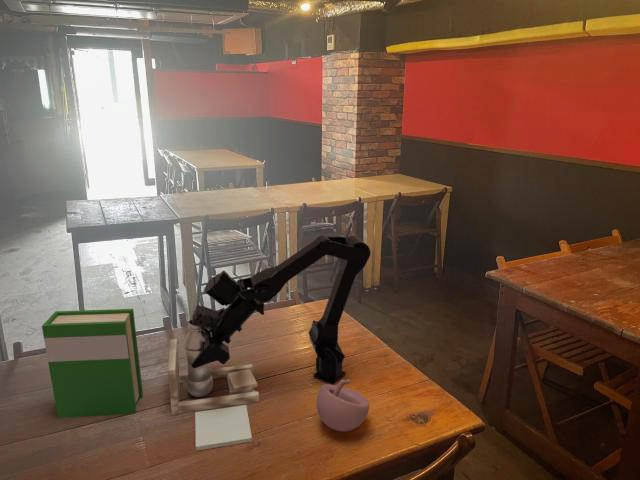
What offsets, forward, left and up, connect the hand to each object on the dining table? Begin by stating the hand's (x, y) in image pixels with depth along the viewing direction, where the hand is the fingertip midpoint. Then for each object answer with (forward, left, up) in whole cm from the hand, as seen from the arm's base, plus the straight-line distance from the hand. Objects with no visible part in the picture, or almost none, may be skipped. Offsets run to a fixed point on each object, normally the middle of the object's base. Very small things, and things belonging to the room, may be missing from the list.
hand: (192, 360), depth 122 cm
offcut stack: (-7, -9, -10) cm, 15 cm away
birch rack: (-3, -4, -10) cm, 11 cm away
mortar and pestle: (-37, -12, -10) cm, 40 cm away
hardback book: (+14, +17, -10) cm, 24 cm away
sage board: (-15, +5, -10) cm, 19 cm away
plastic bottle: (-1, -1, -10) cm, 10 cm away
